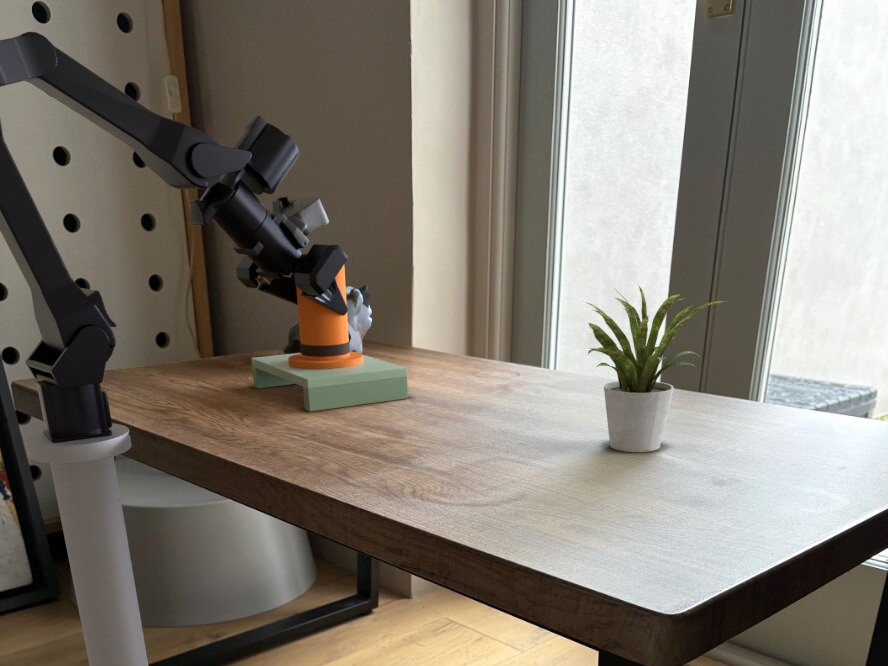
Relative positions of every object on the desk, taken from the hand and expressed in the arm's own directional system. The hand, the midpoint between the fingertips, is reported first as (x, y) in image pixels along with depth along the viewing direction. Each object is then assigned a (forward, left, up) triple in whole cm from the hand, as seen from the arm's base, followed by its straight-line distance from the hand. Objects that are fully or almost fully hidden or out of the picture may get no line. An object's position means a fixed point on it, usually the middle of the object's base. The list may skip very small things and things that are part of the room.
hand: (331, 310), depth 123 cm
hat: (-1, 0, -7) cm, 7 cm away
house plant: (+15, -46, -11) cm, 50 cm away
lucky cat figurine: (+10, +24, -11) cm, 28 cm away
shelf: (-1, 0, -11) cm, 11 cm away
